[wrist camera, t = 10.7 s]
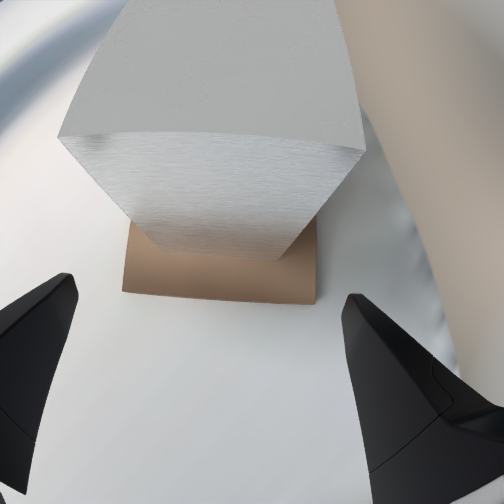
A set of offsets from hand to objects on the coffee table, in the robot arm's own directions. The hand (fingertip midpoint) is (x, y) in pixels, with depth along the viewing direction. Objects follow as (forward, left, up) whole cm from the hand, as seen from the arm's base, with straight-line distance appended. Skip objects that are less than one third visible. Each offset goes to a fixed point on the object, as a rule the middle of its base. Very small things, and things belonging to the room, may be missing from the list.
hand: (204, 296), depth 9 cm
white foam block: (+5, -3, -7) cm, 10 cm away
